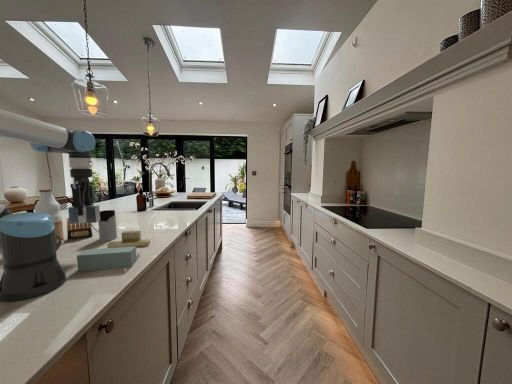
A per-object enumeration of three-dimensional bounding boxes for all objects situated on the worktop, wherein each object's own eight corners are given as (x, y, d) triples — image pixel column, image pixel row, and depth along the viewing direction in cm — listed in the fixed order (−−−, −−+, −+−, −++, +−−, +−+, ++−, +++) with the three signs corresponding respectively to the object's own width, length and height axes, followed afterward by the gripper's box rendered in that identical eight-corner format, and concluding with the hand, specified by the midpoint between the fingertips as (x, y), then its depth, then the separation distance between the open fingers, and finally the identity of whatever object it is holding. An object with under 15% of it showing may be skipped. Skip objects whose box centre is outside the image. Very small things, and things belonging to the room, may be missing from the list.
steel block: (96, 222, 96) (94, 206, 96) (69, 223, 94) (68, 207, 93) (100, 220, 100) (99, 205, 99) (74, 221, 98) (73, 206, 97)
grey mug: (110, 241, 115) (109, 213, 114) (84, 241, 115) (82, 213, 114) (121, 236, 124) (119, 209, 122) (96, 236, 124) (94, 209, 123)
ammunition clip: (92, 236, 124) (91, 215, 123) (92, 236, 123) (90, 215, 122) (68, 239, 119) (66, 217, 117) (67, 240, 117) (65, 218, 116)
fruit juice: (55, 248, 105) (49, 189, 102) (32, 249, 103) (26, 190, 100) (68, 241, 114) (63, 188, 111) (48, 243, 112) (42, 188, 110)
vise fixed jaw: (131, 266, 84) (130, 251, 84) (78, 271, 81) (76, 255, 80) (139, 256, 94) (138, 243, 94) (92, 260, 90) (90, 246, 90)
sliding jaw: (148, 245, 108) (147, 233, 107) (107, 248, 104) (106, 236, 103) (151, 241, 115) (151, 230, 114) (113, 243, 111) (112, 232, 110)
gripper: (80, 168, 87) (84, 225, 90) (100, 168, 104) (103, 217, 106) (58, 168, 86) (63, 226, 88) (81, 168, 102) (85, 217, 104)
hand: (85, 221), depth 97 cm, fingers closed on steel block, 4 cm apart
